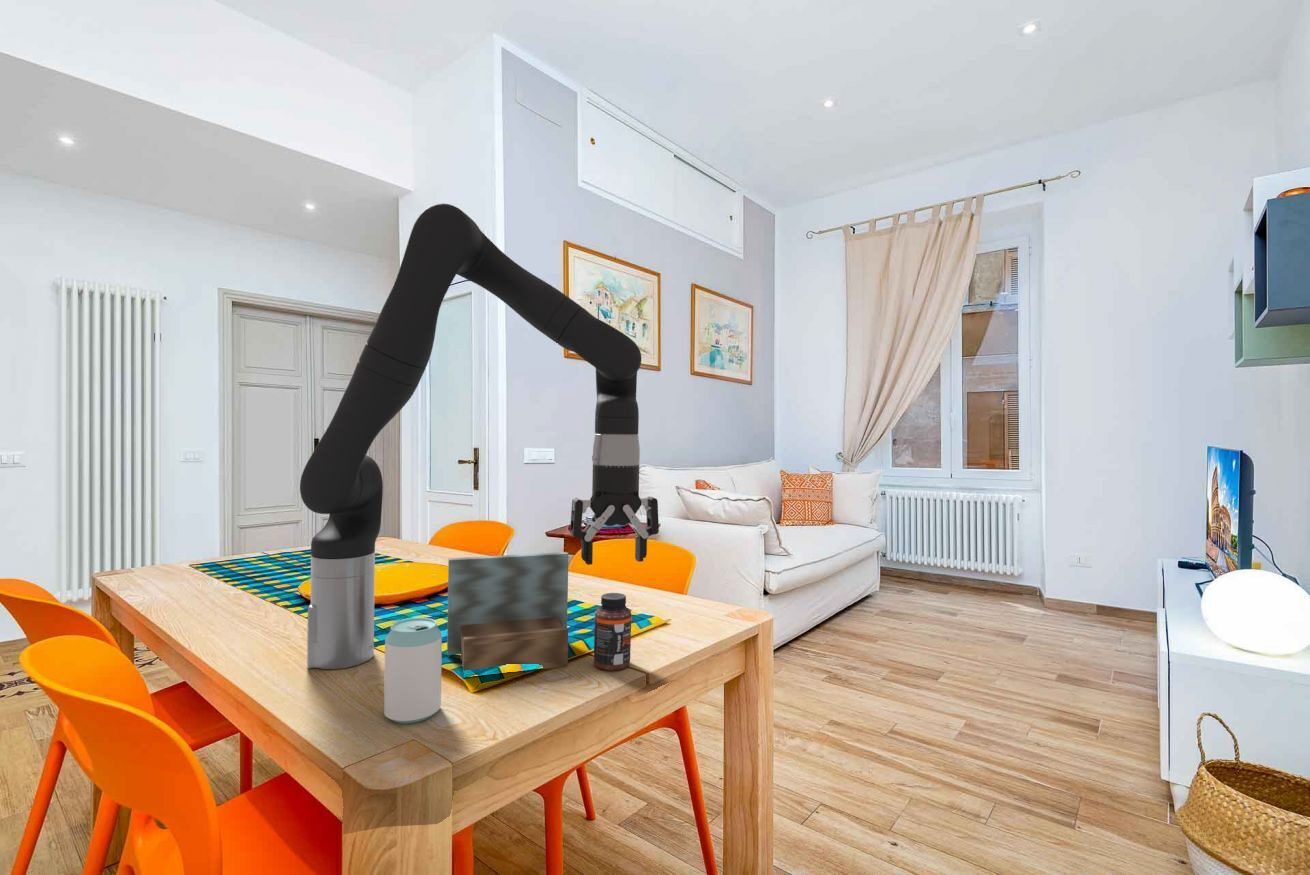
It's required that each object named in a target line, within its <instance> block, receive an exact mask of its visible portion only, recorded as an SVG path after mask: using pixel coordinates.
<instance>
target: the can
mask: <svg viewBox="0 0 1310 875" xmlns="http://www.w3.org/2000/svg"><path fill="white" fill-rule="evenodd" d="M437 625H438V622H437V621H436V620H435V619H433V618H429V617H412V618H405V619H401V620H398V621H395V622H394V623H393V624H391V625H390V631H389V633H388V634H387V635H386V637H385V639H384V692H383V693H384V694H383V695H384V696H383V699H384V702H383V706H384V707H383V713H384V716H385V717H386V718H387V719H389V720H391V721H393V722H395V723H398V724H413V723H419V722H423V721H425V720H427V719H429V718H431V717H432V716H433V715H434V714H436V713H437V712H438V711H439V710H440V709H441V707H442V663H443V662H442V659H443V658H442V655H443V654H442V653H443V651H442V650H443V648H442V647H443V646H442V645H443V643H442V641H443V634H442V631H441V630H440V629H439V627H438V626H437Z"/></svg>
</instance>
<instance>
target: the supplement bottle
mask: <svg viewBox="0 0 1310 875" xmlns="http://www.w3.org/2000/svg"><path fill="white" fill-rule="evenodd" d="M600 599H601V600H600V605H601V606H600V607H598V608H597V609H596V610H595V612H594V630H593V631H594V634H593V635H594V636H593V641H594V642H593V663H594V666H596V667H597V668H598V669H600V670H603V671H621V670H624V669H626V668H627V667H629V665H630V663H631V648H632V646H631V645H632V644H631V641H632V640H631V639H632V611H631V609H630V608H628V606H626V604H627V596H626V594H623V593H620V592H619V593H618V592H607V593H603V594H602V595H601V598H600Z"/></svg>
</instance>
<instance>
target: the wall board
mask: <svg viewBox="0 0 1310 875" xmlns="http://www.w3.org/2000/svg"><path fill="white" fill-rule="evenodd" d="M447 565H448V566H447V567H448V568H447V569H448V570H447V572H448V573H447V574H448V576H447V577H448V578H447V585H448V586H447V626H446V628H447V632H446V633H447V634H446V636H447V638H446V640H447V641H446V642H447V643H446V647H447V648H446V654H447V655H448V654H453V653H459V652H460V654H461V658H460V661H461V660H462V665H463V670H464V671H465V670H473V669H481V668H489V667H496V666H501V665H506V664H539V665H542V666H543V668H542V669H541V670H550V669H557V668H565V667H568V661H569V660H568V658H569V628H568V606H569V605H568V604H569V603H568V597H569V596H568V594H569V553H568V552H566V551H563V552H560V551H559V552H547V553H546V552H544V553H543V552H542V553H527V554H525V553H524V554H509V555H508V554H507V555H487V556H485V555H484V556H470V557H469V556H468V557H466V556H465V557H449V558H448V564H447ZM462 665H461V666H462Z"/></svg>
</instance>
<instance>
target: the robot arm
mask: <svg viewBox="0 0 1310 875" xmlns="http://www.w3.org/2000/svg"><path fill="white" fill-rule="evenodd" d="M456 275H458V276H459V277H461V278H464V279H466V280H468V281H469V282H472V283H474V284H476V285H478V286H479V287H480V288H482V289H485V290H486V291H487V292H489V293H491V294H492V295H494V296H495V297H496V298H498V299H500V300H501V302H503V303H504V304H506V305H507V306H508V307H509V308H511V309H512V310H513V311H514V312H515V313H516V314H518V316H520V317H521V318H522V319H524V320H525V321H526V323H528V324H529V325H531V326H532V327H533V328H535V329H536V330H538V331H539V332H540V333H542V334H543V335H544V336H545V337H547V338H548V339H550V340H551V341H553V342H554V343H556V344H558V346H560V347H561V348H563V349H565V350H567V351H570V352H573V353H575V354H576V355H578V356H579V357H580V358H581V359H583V360H584V361H586V362H588V364H590V365H591V366H593V367H594V368H595V386H596V387H595V388H596V390H595V391H596V405H595V412H594V414H595V415H594V416H595V417H594V439H593V440H594V441H593V446H592V457H591V461H592V486H591V487H592V488H591V491H592V494H591V497H590V499H580V498H577V497H575V498H573V499H572V501H571V514H570V525H569V526H570V527H569V528H570V529H569V534H570V535H571V536H572V537H574V538H575V539H579V540H580V542H581V545H580V546H581V547H580V549H581V552H580V554H581V555H580V557H581V559H582V561H584V562H585V564H586V565H587V566H590V565H593V557H594V556H593V550H594V548H593V545H594V541H592V540H593V538H594V536H595V535H596V534H597V533H598V532H599V531H600V530H601V529H602V527H604V526H607V527H613V526H616V525H618V526H626V525H627V524H628V525H629V526H630V527H631V529H633V531H634V532H635V533H636V535H637V536H636V537H635V543H634V544H635V548H634V559H635V561H637V562H638V563H640V562H642V563H643V562H644V559H646V558H647V553H648V538H649V537H650V536H653V535H658V534H659V532H660V531H659V530H660V527H659V524H660V523H659V503H658V501H659V500H658V499H657V498H655V497H653V496H647V497H644V498H643V497H642V498H641V497H640V495H639V494H640V491H639V490H640V456H641V454H640V452H641V451H640V442H639V423H640V422H639V418H640V417H639V406H638V401H637V386H638V385H637V384H638V383H637V381H638V380H637V378H638V371H639V370H640V368H641V365H642V353H641V350H640V347H638V345H637V344H636V342H635V341H634V340H633V339H632V338H630V336H628V335H626V334H625V333H623V332H622V331H620V330H618V329H617V328H615V327H614V326H611V325H610V324H609V323H606V322H605V321H604V320H601V319H600V318H597V317H596V316H594V315H593V314H592V313H590V312H589V311H588V310H587V309H585V308H584V307H582V305H580V304H579V303H577V302H576V301H574V300H573V299H572V298H570V297H569V296H568V295H566V294H565V293H563V291H562V292H561V291H560V290H559V289H557V288H556V287H554V286H553V285H551V284H550V283H547V281H545V280H543V279H541V278H540V277H538V276H536V275H535V274H533V273H531V272H530V271H528V270H526V269H525V268H523V267H522V266H521V265H520V264H518V263H517V262H515V261H514V260H513V259H511V258H510V257H509V256H508V255H507V254H506V253H504V252H503V251H502V250H501V249H500V248H499V247H498V246H497V245H496V244H494V243H493V241H492V240H491V239H490V238H489V237H487V235H486V234H484V233H483V231H482V230H481V229H480V227H479V226H478V225H477V223H476V222H475V221H474V220H473V219H472V218H471V217H470V216H469V215H468V214H467V213H465V212H464V211H463V210H462V209H460V208H459V207H457V206H455V205H453V204H449V203H436V204H432V205H430V206H429V207H427V208H425V209H424V210H423V211H422V212H421V213H420V214H419V215H418V217H417V218H416V220H415V221H414V224H413V225H412V228H411V232H410V235H409V238H408V241H407V244H406V248H405V250H404V254H403V257H402V260H401V264H400V267H399V270H398V273H397V274H396V278H395V280H394V284H393V286H392V288H391V290H390V292H389V294H388V296H387V299H386V300H385V302H384V303H383V304H384V305H383V306H382V309H381V310H380V313H379V315H378V317H377V320H376V322H375V324H374V326H373V328H372V330H371V333H370V334H369V336H368V338H367V340H366V343H365V345H364V347H363V349H362V351H361V354H360V356H359V358H358V361H357V363H356V366H355V369H354V371H353V373H352V376H351V379H350V380H349V383H348V385H347V387H346V389H345V391H344V394H343V395H342V398H341V399H340V402H339V404H338V406H337V409H336V411H335V412H334V415H333V417H332V419H331V421H330V423H329V425H328V426H327V427H326V430H325V431H324V433H323V435H322V436H321V439H320V440H319V442H318V444H317V445H316V447H315V448H314V450H313V452H312V454H310V457H309V459H308V460H307V463H306V464H305V466H304V469H303V471H302V473H301V478H300V483H299V493H300V497H301V500H302V502H303V504H304V505H305V507H306V508H307V509H308V510H310V511H311V512H313V513H316V514H320V515H329V516H328V519H327V522H326V524H324V526H323V528H322V529H321V530H319V531H318V533H316V534H315V535H314V536H313V537H312V540H311V542H310V603H309V606H308V608H307V648H306V650H307V651H306V652H307V653H306V654H307V656H306V657H307V660H306V661H307V662H306V665H307V666H306V668H307V669H314V668H315V669H320V670H321V669H323V670H337V669H346V668H350V667H354V666H358V665H362V664H364V663H365V662H368V661H370V660H371V659H372V658H373V656H374V652H375V651H374V649H375V647H374V646H375V587H376V585H375V578H376V577H375V576H376V575H375V574H376V573H375V572H376V570H375V569H376V567H375V566H376V564H375V562H376V541H377V539H378V536H379V534H380V531H381V524H382V512H383V510H382V509H383V496H384V495H383V493H384V489H383V488H384V487H383V486H384V485H383V484H384V482H383V476H382V472H381V470H380V466H379V465H378V463H377V462H376V461H375V460H374V459H373V458H372V457H371V456H368V455H367V454H368V452H369V449H370V448H371V445H372V444H373V443H374V440H375V439H376V437H377V436H378V435H379V434H380V432H381V431H382V430H383V429H384V428H385V427H386V426H387V425H388V423H390V422H391V420H392V419H393V418H395V417H396V415H397V414H399V412H400V411H401V410H403V408H404V406H406V405H407V403H408V402H409V401H410V399H411V398H412V397H413V395H414V393H415V392H416V390H417V388H418V385H419V384H420V381H421V379H422V377H423V375H424V372H425V371H426V367H427V366H428V364H429V361H430V359H431V355H432V351H433V347H434V342H435V337H436V330H437V323H438V318H439V313H440V309H441V306H442V303H443V301H444V298H445V296H446V295H447V292H448V291H449V289H450V286H451V284H452V282H453V280H454V279H455V277H456ZM641 506H642V509H643V510H644V511H645V512H646V516H645V517H646V527H644V525H643V524H642V521H641V520H640V519H639V517H638V516H637V515H636V513H637V512H638V511H639V510H640V509H641ZM588 508H590V510H592V512H593V515H592V517H591V518H590V520H588V523H587V525H586V526H585V528H584V529H583V530H582V523H583V514H585V513H586V512H587V509H588Z"/></svg>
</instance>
